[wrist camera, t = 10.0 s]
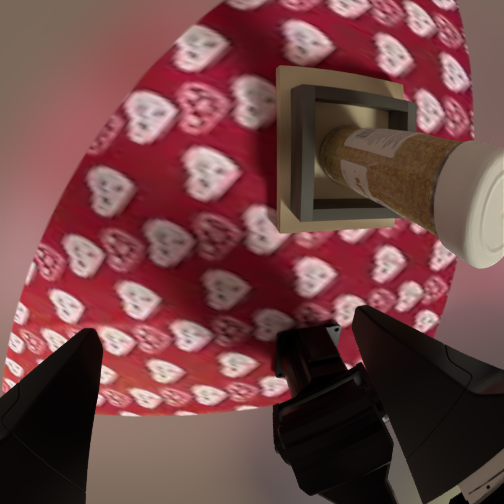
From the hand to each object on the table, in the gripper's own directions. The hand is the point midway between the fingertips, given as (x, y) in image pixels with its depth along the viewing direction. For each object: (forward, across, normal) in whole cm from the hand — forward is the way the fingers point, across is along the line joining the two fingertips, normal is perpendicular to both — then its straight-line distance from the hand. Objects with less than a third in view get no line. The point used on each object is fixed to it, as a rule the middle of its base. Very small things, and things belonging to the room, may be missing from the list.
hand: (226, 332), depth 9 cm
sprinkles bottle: (+12, -10, -4) cm, 16 cm away
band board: (+13, -10, -4) cm, 17 cm away
